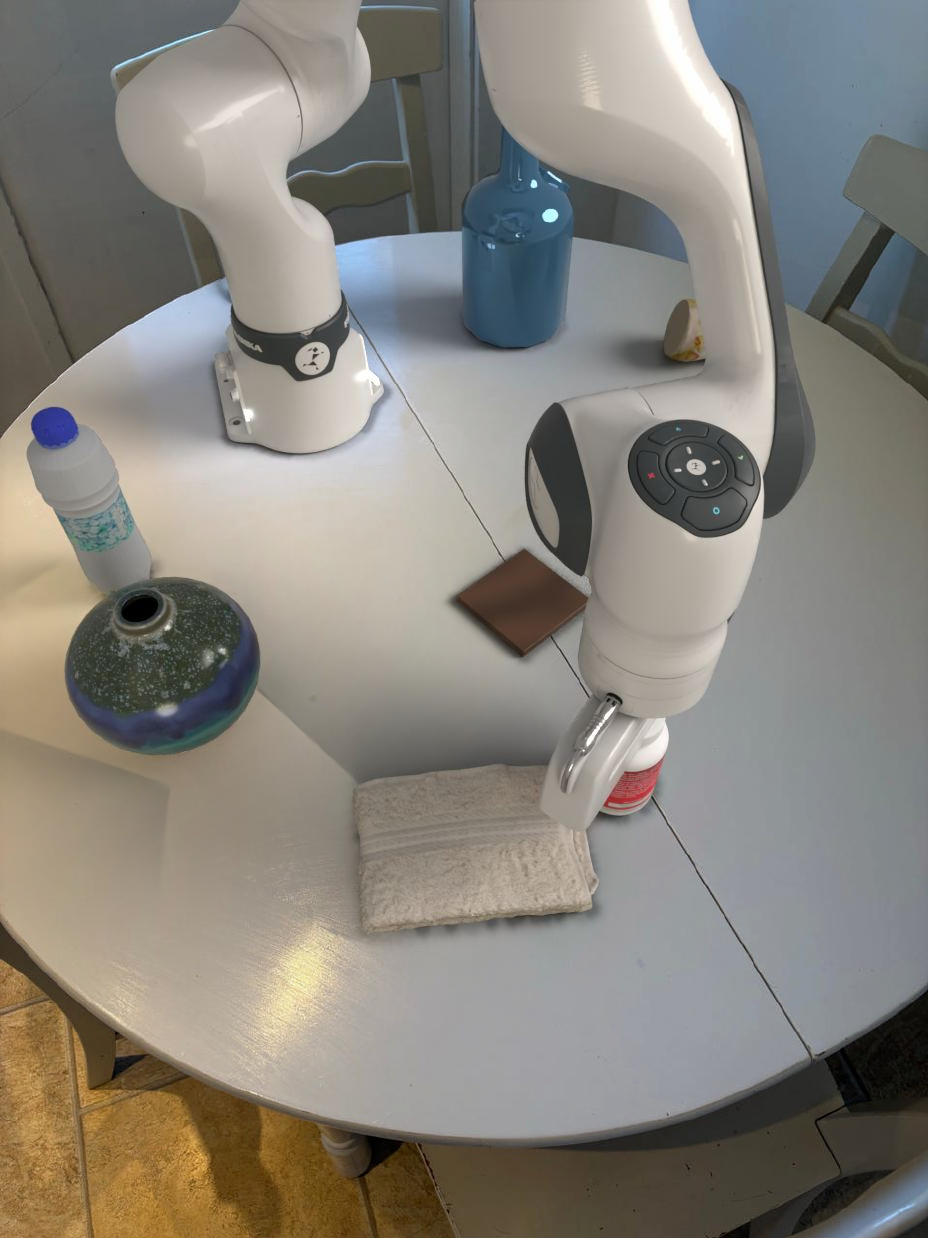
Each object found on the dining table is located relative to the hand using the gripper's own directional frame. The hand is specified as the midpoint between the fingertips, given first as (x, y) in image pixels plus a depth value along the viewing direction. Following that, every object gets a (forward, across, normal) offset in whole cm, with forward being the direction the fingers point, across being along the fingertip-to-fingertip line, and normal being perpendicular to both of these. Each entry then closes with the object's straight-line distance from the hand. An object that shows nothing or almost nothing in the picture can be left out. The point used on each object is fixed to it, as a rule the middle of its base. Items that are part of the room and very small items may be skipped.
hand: (619, 754), depth 69 cm
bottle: (+5, -7, +50) cm, 51 cm away
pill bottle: (+5, 0, 0) cm, 5 cm away
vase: (+5, -14, +35) cm, 38 cm away
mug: (+5, +58, +19) cm, 61 cm away
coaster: (+5, +12, +16) cm, 21 cm away
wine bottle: (+5, +51, +42) cm, 66 cm away
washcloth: (+5, -11, +6) cm, 14 cm away
